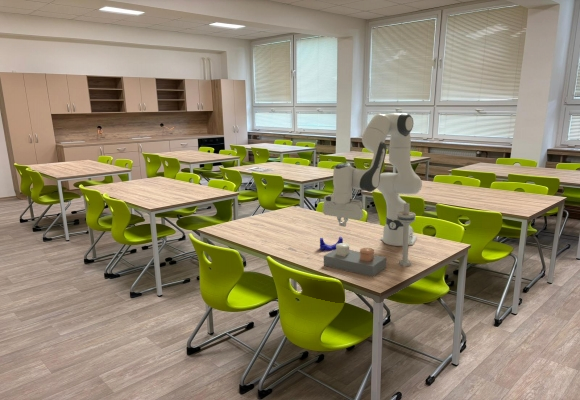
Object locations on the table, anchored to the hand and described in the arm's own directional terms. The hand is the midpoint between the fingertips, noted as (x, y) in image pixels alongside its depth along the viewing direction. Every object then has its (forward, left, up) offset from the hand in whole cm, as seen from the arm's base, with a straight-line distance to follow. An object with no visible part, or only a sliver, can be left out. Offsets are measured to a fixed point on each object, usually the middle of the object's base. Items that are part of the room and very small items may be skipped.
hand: (342, 226), depth 197 cm
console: (0, +7, -19) cm, 20 cm away
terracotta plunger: (0, +13, -16) cm, 20 cm away
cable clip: (-16, -16, -20) cm, 30 cm away
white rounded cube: (0, 0, -16) cm, 16 cm away
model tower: (-15, +26, -19) cm, 35 cm away
